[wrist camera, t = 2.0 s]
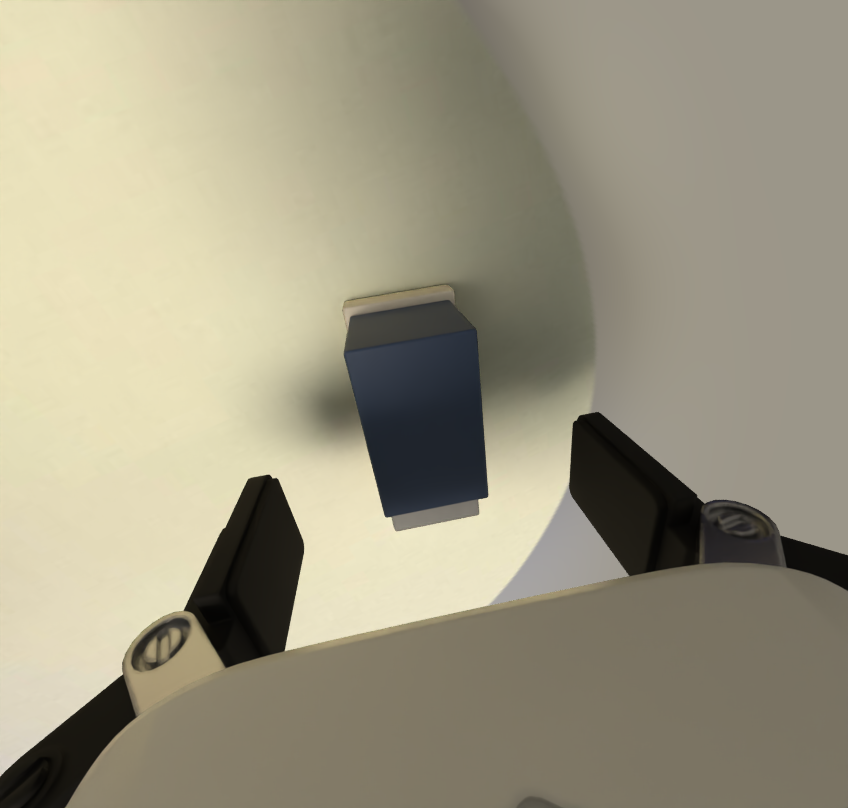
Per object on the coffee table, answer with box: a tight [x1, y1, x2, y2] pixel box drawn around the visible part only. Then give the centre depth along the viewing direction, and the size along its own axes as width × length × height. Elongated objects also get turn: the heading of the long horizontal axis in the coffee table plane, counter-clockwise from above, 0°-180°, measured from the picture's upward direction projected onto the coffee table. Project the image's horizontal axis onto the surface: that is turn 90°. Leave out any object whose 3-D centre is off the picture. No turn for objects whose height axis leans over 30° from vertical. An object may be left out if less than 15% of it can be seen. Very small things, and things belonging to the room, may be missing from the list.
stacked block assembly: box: [342, 285, 488, 531], centre depth 14 cm, size 9×4×5 cm, turn 8°
